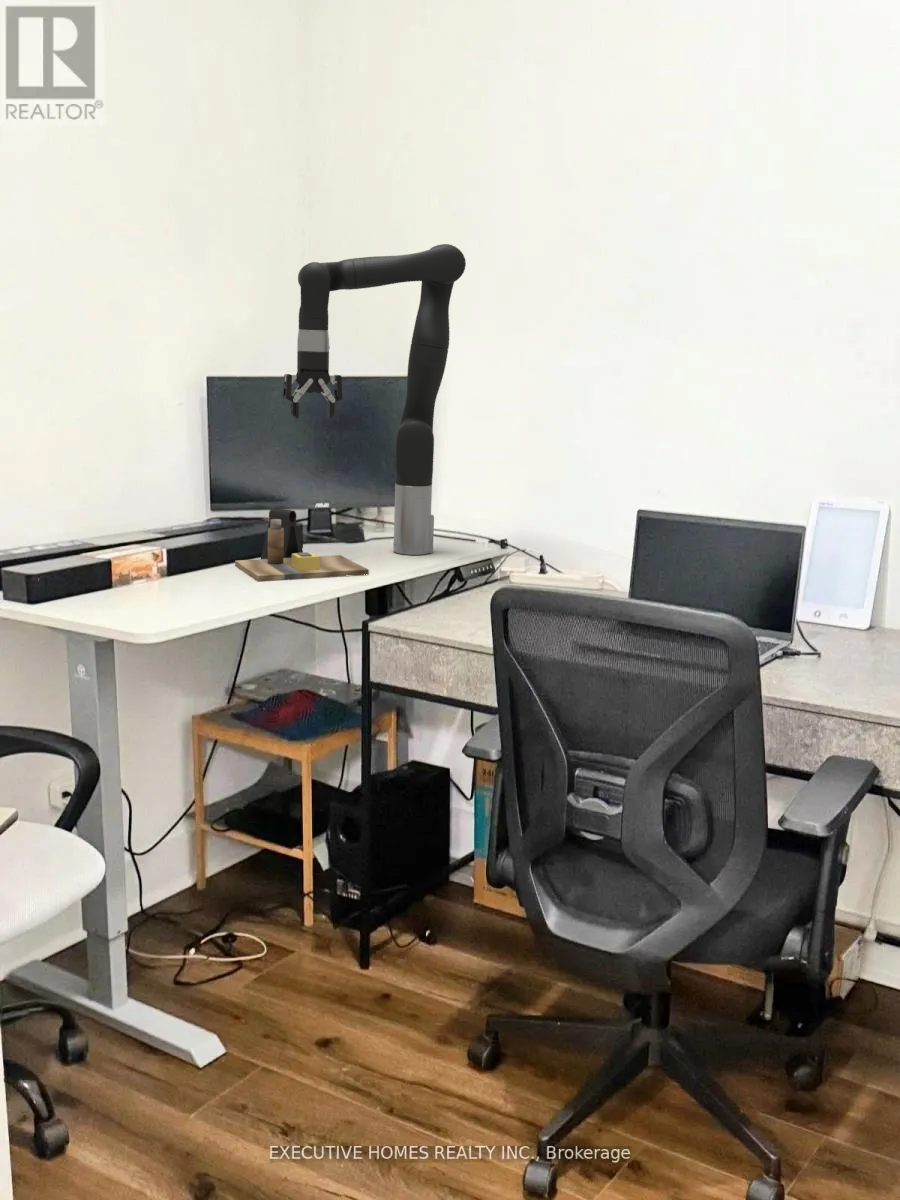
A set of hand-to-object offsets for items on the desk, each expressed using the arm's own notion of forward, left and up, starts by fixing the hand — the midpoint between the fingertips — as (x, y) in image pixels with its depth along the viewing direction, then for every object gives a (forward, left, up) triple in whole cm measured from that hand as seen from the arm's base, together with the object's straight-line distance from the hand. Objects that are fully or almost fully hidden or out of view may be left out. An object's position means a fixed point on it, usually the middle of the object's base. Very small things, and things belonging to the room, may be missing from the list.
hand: (312, 418), depth 281 cm
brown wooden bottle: (+14, +15, -32) cm, 38 cm away
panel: (+9, +19, -33) cm, 39 cm away
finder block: (+9, +22, -32) cm, 40 cm away
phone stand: (+9, +5, -33) cm, 35 cm away
